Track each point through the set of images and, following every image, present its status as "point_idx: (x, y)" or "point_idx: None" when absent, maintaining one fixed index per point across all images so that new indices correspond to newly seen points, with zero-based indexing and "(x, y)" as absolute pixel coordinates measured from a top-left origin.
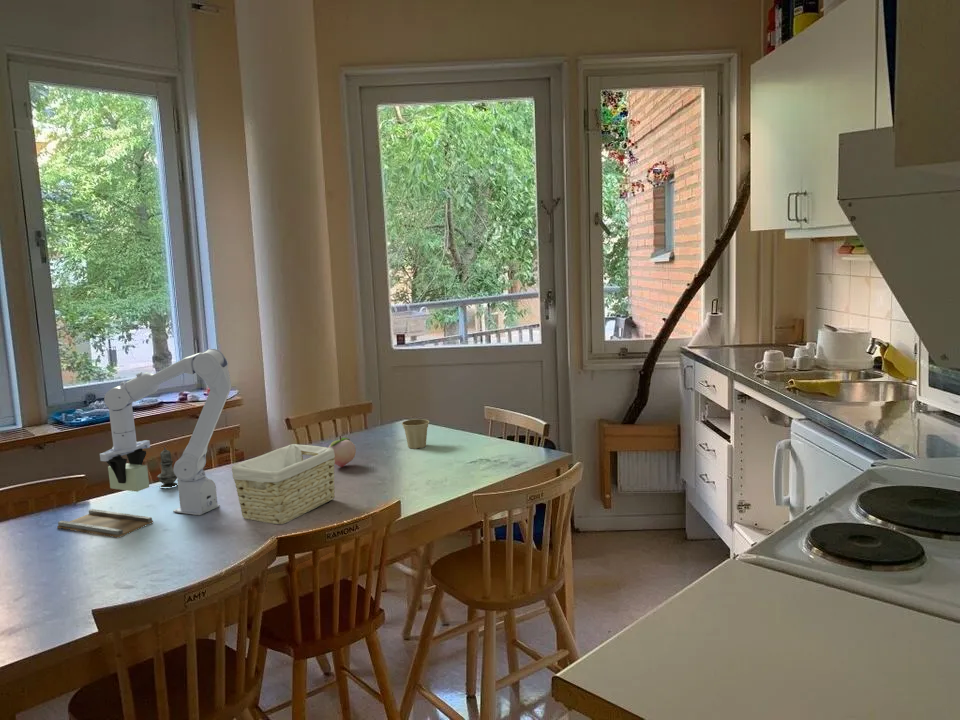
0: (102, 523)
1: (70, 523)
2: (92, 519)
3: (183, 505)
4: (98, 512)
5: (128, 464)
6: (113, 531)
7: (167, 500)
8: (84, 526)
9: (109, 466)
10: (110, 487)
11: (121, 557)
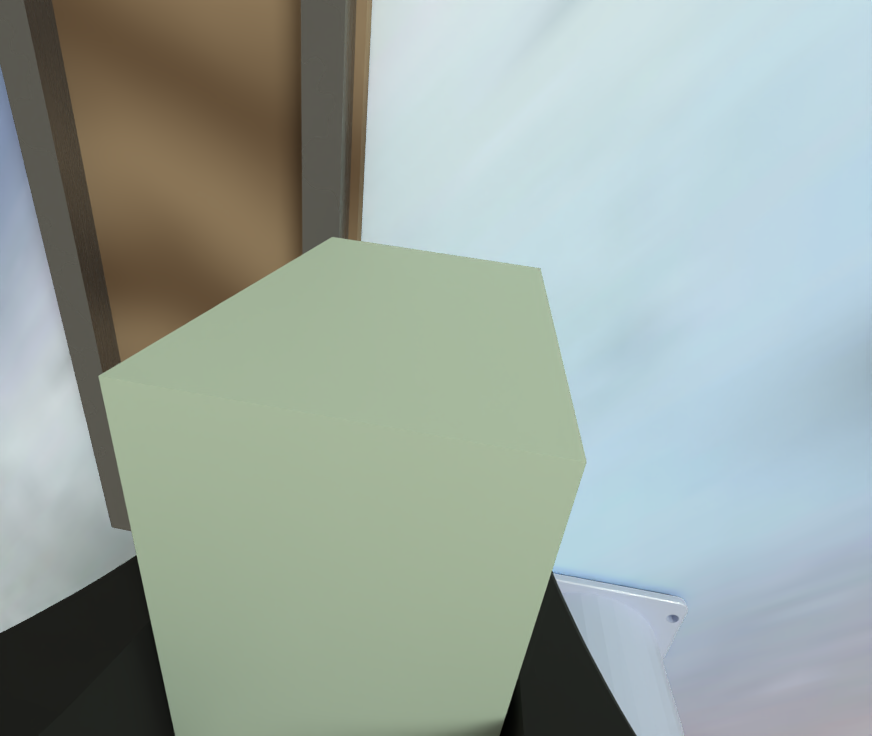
0: (200, 294)
1: (16, 92)
2: (224, 137)
3: None
4: (302, 109)
5: (431, 730)
6: (108, 493)
7: (766, 403)
8: (51, 270)
9: (136, 410)
10: (328, 241)
11: (20, 621)
